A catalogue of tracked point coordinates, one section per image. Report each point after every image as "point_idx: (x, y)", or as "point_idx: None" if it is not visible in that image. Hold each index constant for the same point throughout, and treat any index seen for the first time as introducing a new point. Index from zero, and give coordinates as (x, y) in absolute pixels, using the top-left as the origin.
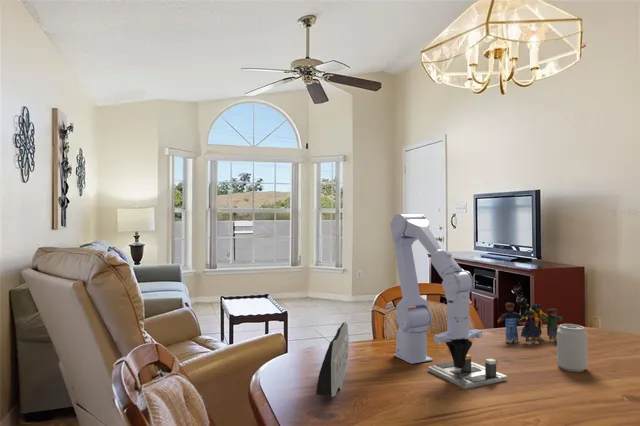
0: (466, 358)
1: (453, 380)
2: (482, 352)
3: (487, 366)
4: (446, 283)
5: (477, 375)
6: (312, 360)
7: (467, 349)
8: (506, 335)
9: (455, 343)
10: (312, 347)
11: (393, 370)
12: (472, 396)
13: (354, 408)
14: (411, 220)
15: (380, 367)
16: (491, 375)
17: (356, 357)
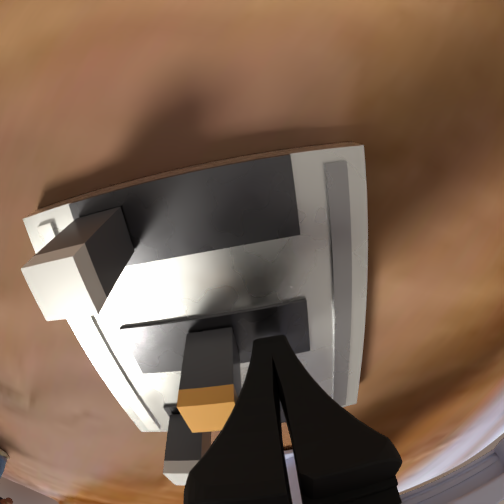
0: (222, 390)
1: (364, 243)
2: (65, 451)
3: (106, 262)
4: None
5: (183, 266)
6: (498, 422)
7: (239, 440)
8: (2, 466)
9: (372, 483)
10: (444, 472)
11: (440, 391)
12: (369, 38)
13: None
14: None
15: (446, 407)
16: (109, 211)
17: (430, 451)
